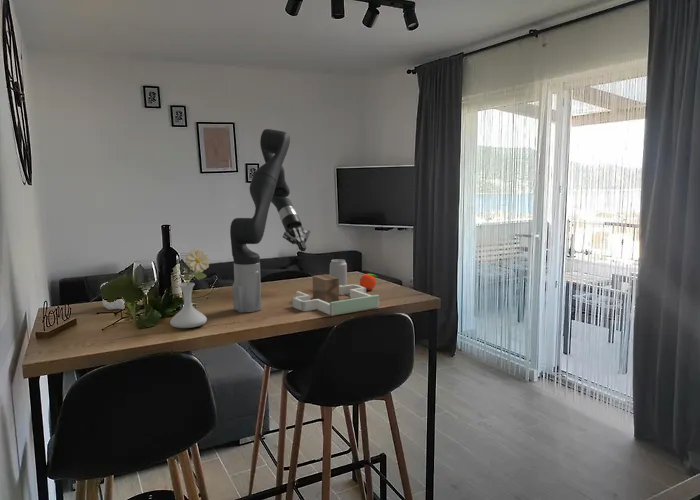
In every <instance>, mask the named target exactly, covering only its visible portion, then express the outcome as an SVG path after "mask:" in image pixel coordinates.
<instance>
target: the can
mask: <svg viewBox="0 0 700 500" xmlns="http://www.w3.org/2000/svg"><path fill="white" fill-rule="evenodd" d="M347 264H348V263H347V262H346V260H345V259H342V258H340V259H337V258H336V259H331V262H330V263H329V276H333V277H336V278H339V286H340V285H341V286H346V285H348V272H347V271H348V265H347Z"/></svg>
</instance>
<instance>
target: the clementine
mask: <svg viewBox="0 0 700 500" xmlns="http://www.w3.org/2000/svg"><path fill="white" fill-rule="evenodd" d="M376 277H377V279H378V281H379V278H378V276H377V275H376V274H373V273H365V274H363V275H361V277H360V279H359V283H360V284H359V286H362V287H365V288H366V291H370V290H373V289H374V288H375V287H376V285H377V279H376Z"/></svg>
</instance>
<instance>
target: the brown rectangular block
mask: <svg viewBox="0 0 700 500" xmlns="http://www.w3.org/2000/svg"><path fill="white" fill-rule="evenodd" d="M312 299H320V300H322V301H325V302H327V303H329V302H335V301H340V294H339V278H336V277H333V276H330V274H317V275H312Z"/></svg>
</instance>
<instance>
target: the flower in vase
mask: <svg viewBox="0 0 700 500" xmlns="http://www.w3.org/2000/svg"><path fill="white" fill-rule="evenodd" d="M185 256H186V257H185V264H186V266H187V267H188V268H189V270H190V271H192V275H191V276H190V278H189V277H188V276H185V275H181V274H180V273H178V277H179V278H180V279H184V280H187V281H188V282H182V283H179V284H178V286H179V287H180V288H179V289H180V290H181V292H182V296H183V306H182V308H181V309H179V311H178V312H177V313H176V314H175V315H173V316H172V318H171V319H170V322H169V323H170V325H171V326H172V327H174V328H178V329H190V328H191V329H193V328H197V327H200V326H202V325H204V324H205V323H207V322H208V318H207V316H206V315H205V314H204V313H202V312H200V311H199V310H198V309H196V308H195V307H194V306H193V304H192V292H193V289H194V286H195V282H191V280H192V279H193V277H194V278H196V279H197V280H202V279H205V278H207V274H205V273H204V270H205V271H206V270H207V269H208V268H209V267H210V266H209V265H210V264H211V263H210V258H209V256H208V255H207V253H205V251H203V250H201V249H196V248H194V249H192V250H190V251H189V252H187V253H186V255H185Z"/></svg>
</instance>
